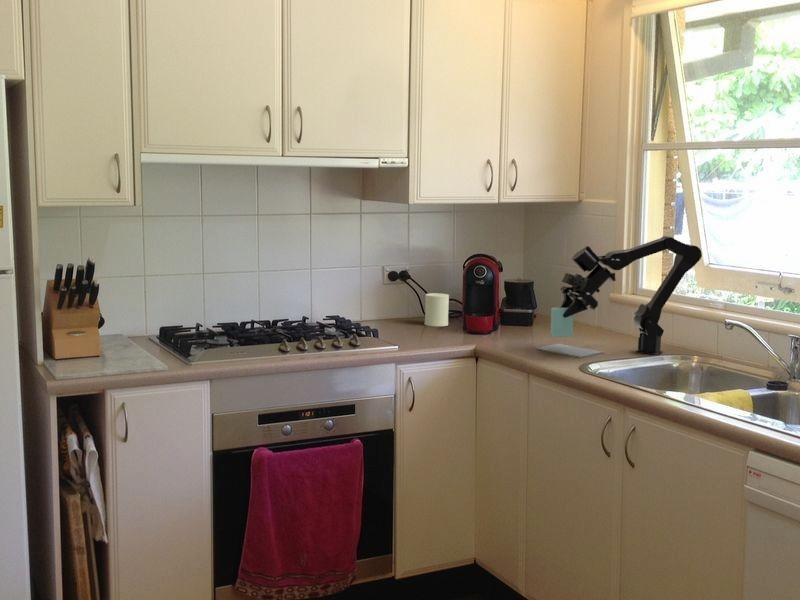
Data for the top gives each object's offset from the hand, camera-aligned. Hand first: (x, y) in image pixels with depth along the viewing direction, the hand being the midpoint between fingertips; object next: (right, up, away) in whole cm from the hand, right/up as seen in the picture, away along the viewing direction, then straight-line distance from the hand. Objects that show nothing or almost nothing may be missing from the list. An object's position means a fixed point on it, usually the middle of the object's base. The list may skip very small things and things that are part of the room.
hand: (560, 315), depth 296 cm
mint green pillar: (0, -7, +1) cm, 7 cm away
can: (-39, -4, +53) cm, 65 cm away
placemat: (+4, -12, +5) cm, 13 cm away
